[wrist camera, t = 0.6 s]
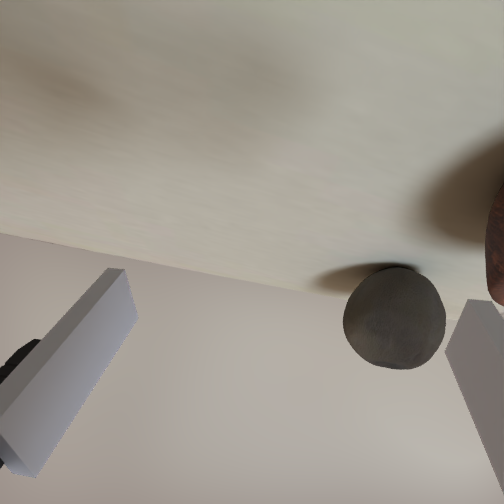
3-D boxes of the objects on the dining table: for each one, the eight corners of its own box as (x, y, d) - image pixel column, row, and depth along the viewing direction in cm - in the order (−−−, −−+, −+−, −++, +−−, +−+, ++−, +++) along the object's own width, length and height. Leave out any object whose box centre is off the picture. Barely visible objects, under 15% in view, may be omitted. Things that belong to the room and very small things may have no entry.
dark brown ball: (387, 246, 45) (399, 360, 39) (458, 268, 50) (478, 372, 44) (325, 274, 57) (327, 365, 51) (388, 290, 62) (395, 374, 56)
